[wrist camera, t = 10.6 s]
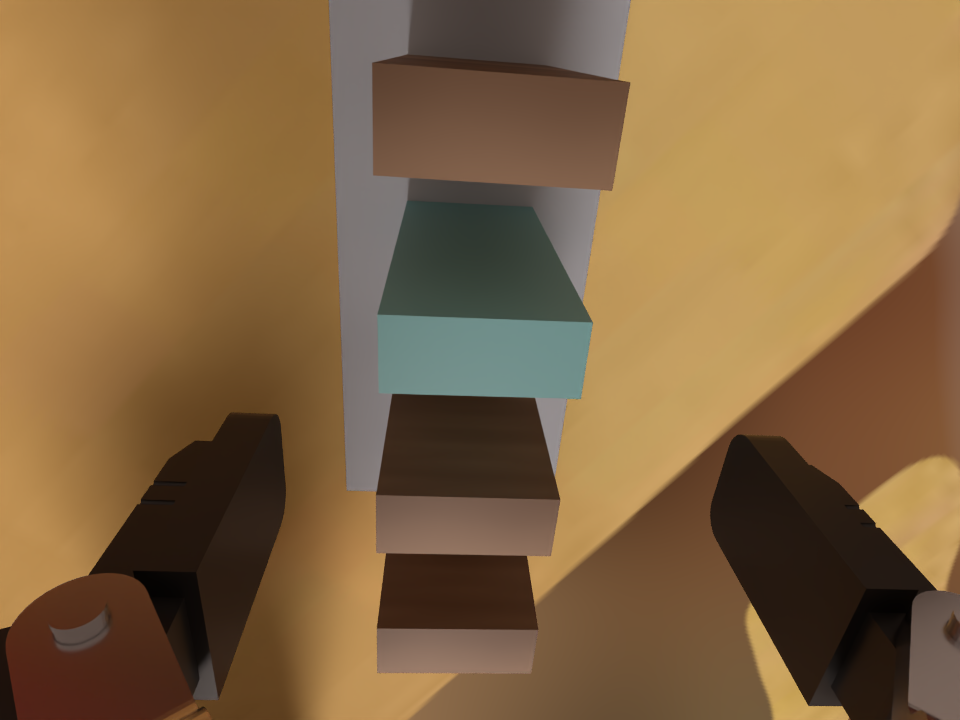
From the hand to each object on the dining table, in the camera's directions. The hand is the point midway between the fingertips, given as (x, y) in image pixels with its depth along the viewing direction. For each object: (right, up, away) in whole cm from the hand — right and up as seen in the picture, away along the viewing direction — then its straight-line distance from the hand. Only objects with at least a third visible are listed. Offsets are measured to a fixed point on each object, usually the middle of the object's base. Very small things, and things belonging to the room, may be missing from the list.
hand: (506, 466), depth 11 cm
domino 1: (-1, +11, +11) cm, 16 cm away
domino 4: (-2, -2, +17) cm, 18 cm away
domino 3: (-1, +2, +15) cm, 15 cm away
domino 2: (-1, +7, +13) cm, 15 cm away
